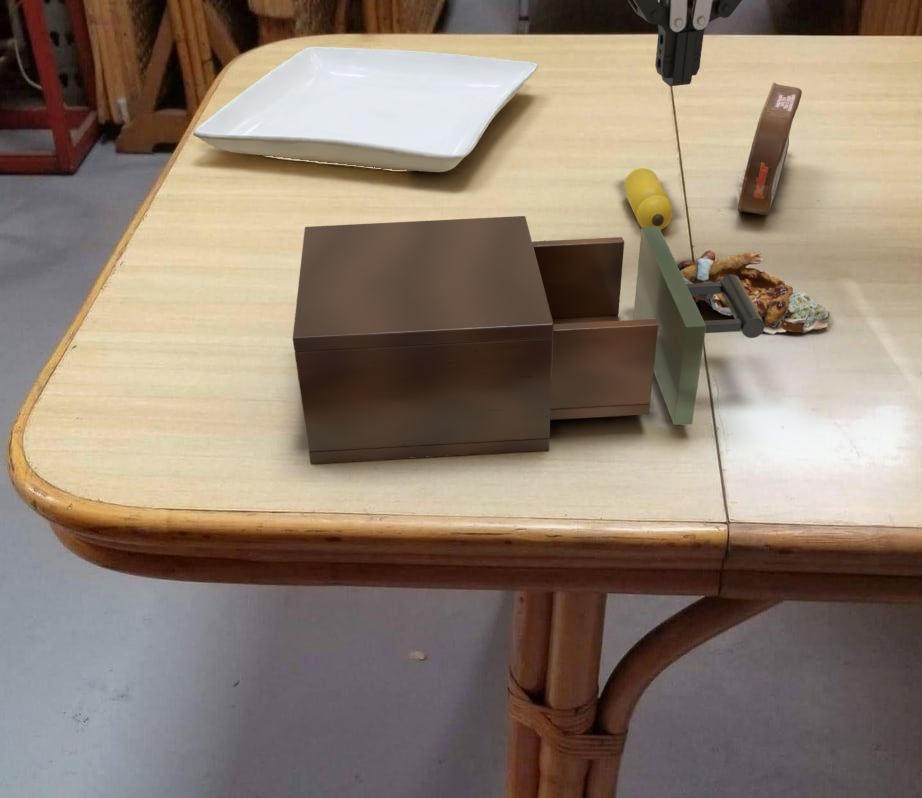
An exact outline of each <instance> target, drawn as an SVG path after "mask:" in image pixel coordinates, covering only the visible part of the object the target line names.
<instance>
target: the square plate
mask: <svg viewBox="0 0 922 798" xmlns="http://www.w3.org/2000/svg"><path fill="white" fill-rule="evenodd" d="M538 69H539V65H538V64H537V63H536V62H532V61H523V60H513V59H504V58H495V57H488V56H487V57H486V56H477V55H469V54H458V53H457V54H456V53H448V52H436V51H423V50H409V49H408V50H407V49H392V48H391V49H387V48H369V47H368V48H364V47H336V46H335V47H332V46H331V47H330V46H306V47H303V48H302V49H300V50H299V51H298V52H296V53H294V54H293V55H292V56H290V57H289V58H288V59H286V60H284V61H283V62H282V63H280V64H279V65H277V66H276V67H275V68H273V69H272V70H270V71H268V72H267V73H266V74H265V75H263V76H262V77H261V78H259V79H258V80H256V81H255V82H254V83H252V84H251V85H249V86H248V87H247V88H245V89H244V90H243V91H241V92H240V93H239V94H238V95H236V96H235V97H233V99H231V100H230V101H228V102H227V103H226V104H224V105H223V106H222V107H220V108H219V109H218V110H217V111H216V112H214V113H213V114H212V115H210V116H209V117H208V118H207V119H205V120H204V121H202V123H200V124H199V125H198V126H197V127H196V128H194V129H193V131H192V136H194V137H196V138H198V139H199V140H201V141H202V142H204V143H206V144H208V145H209V146H211V147H213V148H216V149H219V150H223V151H225V152H230V153H236V154H244V155H255V156H260V155H263V156H273V157H283V158H291V159H300V160H309V161H318V162H327V163H338V164H347V165H356V166H364V167H373V168H374V167H375V168H381V169H392V170H407V171H419V172H427V173H444V172H445V173H446V172H448V171H451V170H453V169H454V168H456V167H457V166H458V165H459V164H460V163H461V162H462V161H463V159H464V158H466V157H467V156H468V155H470V153H471V152H472V151H473V150H474V149H475V147H476V146H477V144H478V143H479V141H480V139H481V138H482V136H483V134H484V133H485V131H486V130H487V128H488V126H489V125H490V123H491V122H492V121H493V119H494V118H495V117H496V116H497V114H499V112H500V111H501V110H502V109H503V108H504V107H505V106H506V105H507V104H508V103H509V102H510V101H511V100H512V99H513V98H514V97H515V96H516V94H517V93H518V92H519V91H520V89H521V88H522V86H524V84H525V83H526V82H527V81H528V80H529V79H530V78H532V76H533V75H534V74H535V73H536V71H537V70H538ZM263 156H262V157H263Z"/></svg>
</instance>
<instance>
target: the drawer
mask: <svg viewBox="0 0 922 798" xmlns="http://www.w3.org/2000/svg"><path fill="white" fill-rule="evenodd" d="M639 240H640V241H639V249H638V250H639V252H638V262H637V272H636V273H637V274H636V284H635V295H634V306H633V317H632V319H625V320H620V317H619V314H620V313H619V312H620V301H621V299H620V298H621V288H622V277H623V275H622V274H623V264H624V251H625V240H624V238H623V236H620V237H619V236H617V237H615V236H614V237H596V238H595V237H594V238H575V239H556V240H553V239H552V240H537V241H534V240H532V243H533V247H534V251H535V255H536V259H537V263H538V266H539V270H540V274H541V278H542V282H543V286H544V290H545V293H546V297H547V301H548V305H549V309H550V313H551V316H552V320H553V324H554V331H553V358H552V385H551V412H550V421H554V420H555V421H556V420H572V419H573V420H574V419H590V418H607V417H608V418H609V417H627V416H643V415H649V414H650V408H651V407H650V406H651V397H652V388H653V380H654V379H653V378H654V377H655V379H656V382H657V385H658V387H659V390H660V393H661V395H662V398H663V401H664V403H665V406H666V408H667V411H668V414H669V417H670V419H671V422H672V425H674V426H680V425H681V426H682V425H692V424H693V420H694V414H695V407H696V400H697V393H698V384H699V377H700V371H701V365H702V357H703V351H704V343H705V337H706V334H715V333H716V334H717V333H735V332H737V333H738V332H741V333H742V334H743V336H744V337H745V338H748V339H755V338H758V337H759V336H760V335H761V334H762V333H763V332H764V331H763V330H764V326H765V325H764V322H763V320H762V318H761V317H760V315H759V313H758V311H757V309H756V308H755V306H754V304H753V302H752V301H751V299H750V297H749V295H748V293H747V292H746V290H745V288H744V286H743V285H742V283H741V281H740V279H739V278H738V277H737V276H736V275H727V276H725V277H723V278H722V279H721V281H720V282H712V283H692V284H686V283H685V281H684V279H683V276H682V274H681V272H680V270H679V268H678V266H677V265H678V264H677V262H676V260H675V257H674V255H673V253H672V252H671V249H670V247H669V245H668V243H667V240H666V238H665V237H664V235H663V233H662V230H660V228H659V227H658V226H657V227H641V228H640V239H639ZM721 293H722V295H723V297H724V298H725V300H726V302H727V304H728V306H729V308H730V310H731V312H732V314H733V315H732V316H733V319H717V320H716V319H715V320H704V318H703V316H702V315H701V312H700V310H699V308H698V305H697V304H696V303H695V302H694V300H693V297H692V295H705V294H721Z"/></svg>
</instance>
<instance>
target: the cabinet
mask: <svg viewBox="0 0 922 798" xmlns="http://www.w3.org/2000/svg"><path fill="white" fill-rule="evenodd" d="M302 240H303V241H302V249H301V258H300V267H299V276H298V285H297V294H296V304H295V313H294V322H293V331H292V344H293V350H294V359H295V365H296V366H295V367H296V372H297V380H298V386H299V393H300V394H299V395H300V401H301V407H302V416H303V420H304V421H303V422H304V429H305V434H306V442H307V448H308V449H307V450H308V456H309V463H310V464H311V465H317V464H318V465H319V464H332V463H335V464H336V463H352V462H367V461H369V460H371V461H385V460H386V461H388V460H405V459H404V458H406V459H411V458H410V457H424V458H427V457H426V456H441V457H447V456H446V455H449V456H448V457H451V456H450V455H459V456H472V455H471V454H477V455H492V454H493V453H494V454H503V453H502V452H505V453H504V454H508V453H509V454H510V453H527V452H544V451H546V450H547V451H550V440H551V439H550V435H551V420H550V412H551V385H552V358H553V331H554V324H553V320H552V316H551V313H550V309H549V305H548V301H547V297H546V293H545V290H544V286H543V282H542V278H541V274H540V270H539V266H538V263H537V259H536V255H535V251H534V247H533V243H532V242H533V240H532V237H531V232H530V229H529V225H528V220H527V217H526V215H517V216H497V217H495V216H494V217H474V218H457V219H455V218H454V219H436V220H435V219H433V220H416V221H415V220H414V221H413V220H411V221H395V222H392V221H391V222H373V223H355V224H353V223H352V224H336V225H335V224H334V225H314V226H304V231H303V238H302ZM547 451H546V452H547ZM494 454H493V455H494Z"/></svg>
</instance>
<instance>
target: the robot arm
mask: <svg viewBox="0 0 922 798" xmlns="http://www.w3.org/2000/svg"><path fill="white" fill-rule="evenodd" d="M627 1H628V3H629V4H630V6H631V7H632V9H633V10H634V12H635V14H637V15H638V16H639V17H641V18H642V19H643V20H644V21H646V22H647V23H649V24H650V25H657V29H658V31H657V32H658V33H657V41H656V42H657V43H656V44H657V45H656V52H655V53H656V54H655V65H654V66H655V69H656V73H657V74H658V75H659V76H661V80H662V81H663V82H664V83H666V84H667V86H669V87H678V86H687V85H691V83H692V79H693V76H697V75H698V72H699V70H700V67H701V58H702V51H703V42H704V35H705V34H704V33H705V30H706V28H707V26H708V25H709V24H710V23H711V22H712V21H715V20H717V19H718V18H722V19H727V18H729V17H730V16H731V15H732V14H733V13H734V11H735V10H736V9H737V8H738V7H739V5H740V3H741V2H742V1H743V0H627Z"/></svg>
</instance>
